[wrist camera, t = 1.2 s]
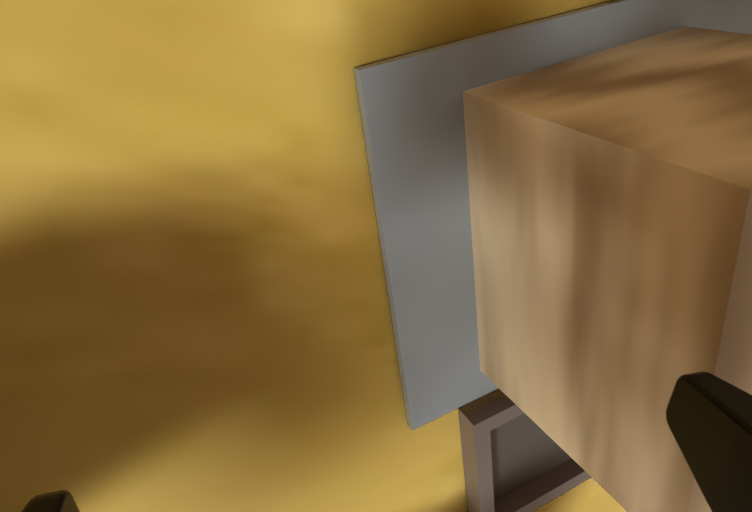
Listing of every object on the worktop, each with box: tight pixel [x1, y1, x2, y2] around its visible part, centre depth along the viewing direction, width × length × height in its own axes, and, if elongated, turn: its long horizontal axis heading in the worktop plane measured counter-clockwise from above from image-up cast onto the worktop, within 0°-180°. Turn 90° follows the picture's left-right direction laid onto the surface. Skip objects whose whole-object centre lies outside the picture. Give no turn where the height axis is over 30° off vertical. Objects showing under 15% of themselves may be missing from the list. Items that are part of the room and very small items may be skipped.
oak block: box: [463, 26, 752, 512], centre depth 20 cm, size 10×12×10 cm
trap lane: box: [354, 0, 752, 512], centre depth 25 cm, size 25×32×3 cm
